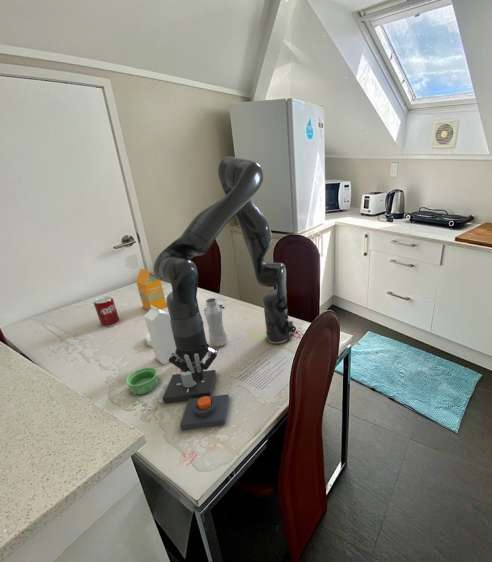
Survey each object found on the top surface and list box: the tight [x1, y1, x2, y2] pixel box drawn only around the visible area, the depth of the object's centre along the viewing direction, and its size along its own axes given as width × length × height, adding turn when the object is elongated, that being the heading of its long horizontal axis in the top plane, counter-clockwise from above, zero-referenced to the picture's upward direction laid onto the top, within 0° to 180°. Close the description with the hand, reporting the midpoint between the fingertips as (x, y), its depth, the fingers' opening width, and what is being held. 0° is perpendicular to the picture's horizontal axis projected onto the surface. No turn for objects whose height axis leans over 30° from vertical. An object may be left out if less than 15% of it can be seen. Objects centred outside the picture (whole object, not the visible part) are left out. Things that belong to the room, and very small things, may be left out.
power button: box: [197, 396, 211, 410], centre depth 92 cm, size 4×4×2 cm
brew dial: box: [179, 369, 197, 388], centre depth 101 cm, size 4×4×5 cm
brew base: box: [162, 369, 217, 405], centre depth 103 cm, size 14×11×3 cm
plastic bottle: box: [203, 297, 228, 347], centre depth 123 cm, size 6×7×20 cm
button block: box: [179, 393, 230, 431], centre depth 93 cm, size 12×10×4 cm
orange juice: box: [135, 268, 168, 311], centre depth 153 cm, size 8×9×20 cm
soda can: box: [93, 296, 120, 328], centre depth 140 cm, size 7×7×12 cm
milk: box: [143, 305, 176, 365], centre depth 114 cm, size 6×6×22 cm
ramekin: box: [125, 366, 159, 395], centre depth 104 cm, size 9×9×4 cm
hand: (199, 380), depth 88 cm, fingers closed
